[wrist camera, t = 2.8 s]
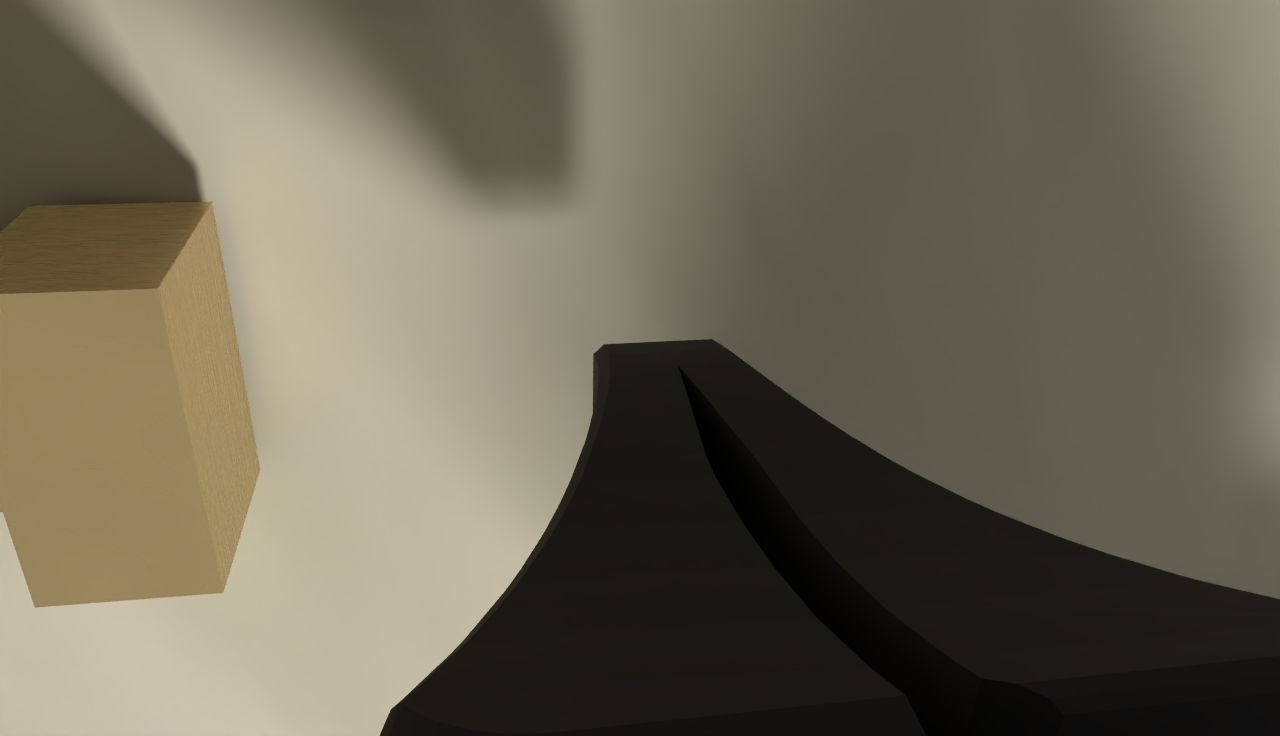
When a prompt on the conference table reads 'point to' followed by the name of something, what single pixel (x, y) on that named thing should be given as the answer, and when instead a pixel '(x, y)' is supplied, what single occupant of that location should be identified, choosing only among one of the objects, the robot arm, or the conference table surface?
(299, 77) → the conference table surface
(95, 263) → the key
